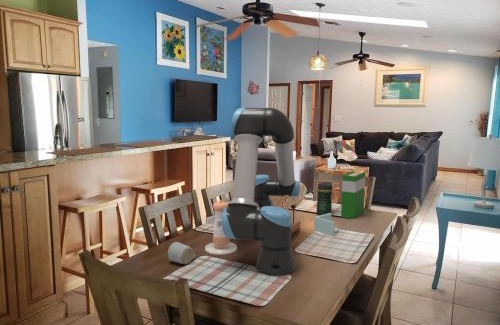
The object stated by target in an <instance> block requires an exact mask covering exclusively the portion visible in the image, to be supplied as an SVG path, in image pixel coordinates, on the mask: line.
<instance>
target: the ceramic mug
mask: <svg viewBox="0 0 500 325" xmlns="http://www.w3.org/2000/svg"><path fill="white" fill-rule="evenodd" d="M167 258H168V260H170V261H172V262H174V263H178V264H182V265H188V264H190V263H191V262H192V260H193V259H196V254H195V253H194V249H193V248H192V247H191V246H189V245H187V244H184V243H181V242H178V241H174V242H173V243H171V244H170V246H169V247H168V250H167Z"/></svg>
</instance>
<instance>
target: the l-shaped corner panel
mask: <svg viewBox="0 0 500 325" xmlns="http://www.w3.org/2000/svg"><path fill="white" fill-rule="evenodd" d="M332 215H333V214H332V212H331V213H328V214H324V215H318V216H314V220H313V221H314V224H313V226H314V227H313V230H314V231H315V232H319V233H322V234H325V235H328V236H330V237H335V234H338V233H339V228H338V227H336V222H335V221H333V220H332Z"/></svg>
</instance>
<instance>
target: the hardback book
mask: <svg viewBox="0 0 500 325" xmlns="http://www.w3.org/2000/svg"><path fill="white" fill-rule="evenodd" d="M341 182H342V183H341V209H340V210H341V214H340V217H341V218H344V219H349V220H355V219H356V218H357V217H359V216H361V215H362V214H363V213H364V212H365V195H366V194H365V190H366V172H365V171H363V172H355V170H352V171H350V172H346V173H345V174H342V181H341Z"/></svg>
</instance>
